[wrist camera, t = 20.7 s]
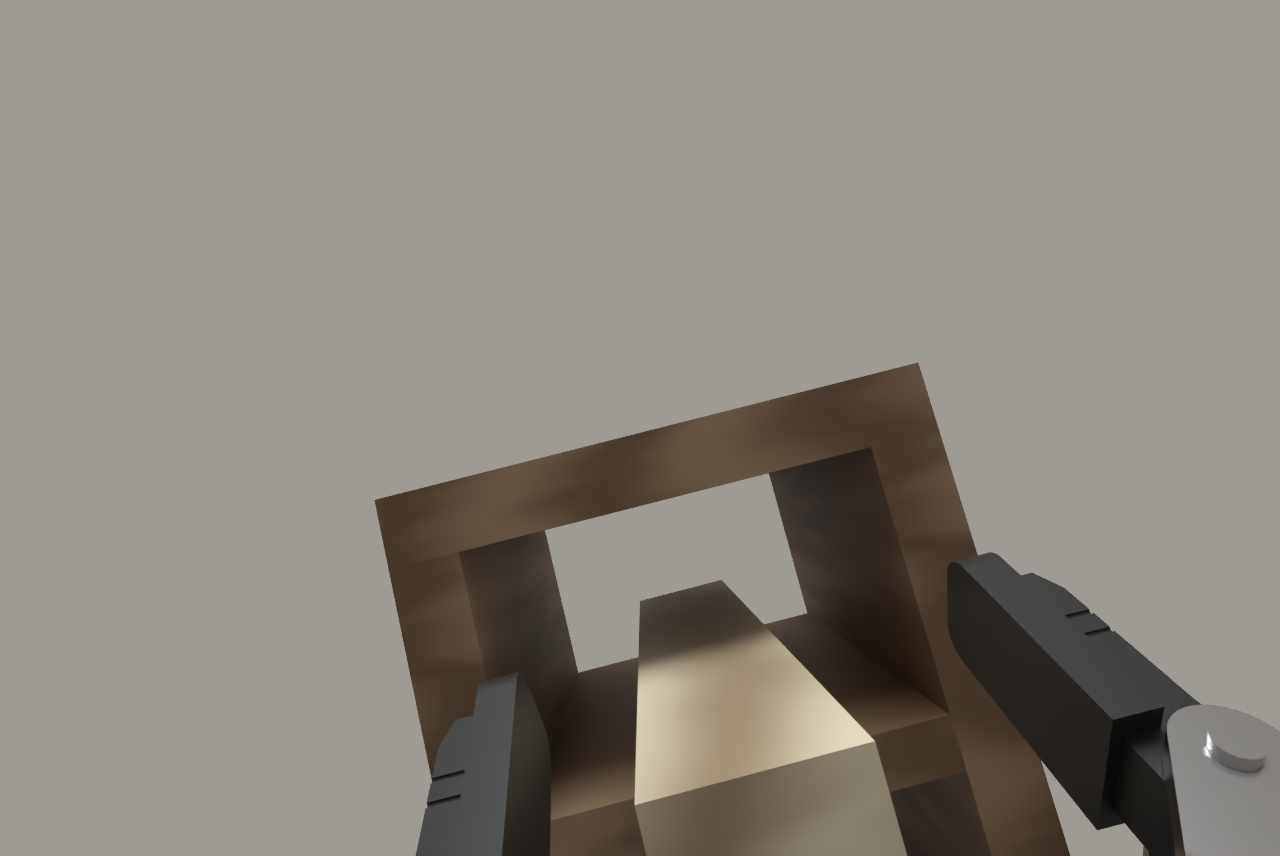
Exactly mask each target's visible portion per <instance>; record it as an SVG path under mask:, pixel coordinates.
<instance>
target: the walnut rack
mask: <svg viewBox="0 0 1280 856" xmlns="http://www.w3.org/2000/svg"><path fill="white" fill-rule="evenodd" d="M767 473H769V475H770V479H771V482H772V486H773V490H774V493H775V497H776V500H777V504H778V507H779V511H780V515H781V518H782V522H783V526H784V530H785V533H786V536H787V540H788V544H789V548H790V551H791V555H792V558H793V562H794V566H795V569H796V573H797V577H798V580H799V584H800V588H801V591H802V595H803V598H804V602H805V605H806V609H807V614H803V615H799V616H795V617H791V618H788V619H784V620H780V621H776V622H772V623H768V624H765V626H766V627H767V628H768V629H769V630H770V632H771V633H772V634H773V635H774V636H775V637H776V638H777V639H778V640H779V641H780V642H781V643H782V644H783V645H784V646H785V647H786V648H787V649H788V650H789V651H790V652H791V654H792V655H793V656H794V657H795V658H796V659H797V660H798V661H799V662H800V663H801V664H802V665H803V666H804V667H805V668H806V669H807V670H808V671H809V672H810V673H811V674H812V676H813V677H814V678H815V679H816V680H817V681H818V682H819V683H820V684H821V685H822V686H823V687H824V688H825V689H826V690H827V691H828V692H829V693H830V694H831V695H832V697H833V698H834V699H835V700H836V701H837V702H838V703H839V704H840V705H841V706H842V707H843V708H844V709H845V710H846V711H847V712H848V713H849V714H850V715H851V716H852V717H853V719H854V720H855V721H856V722H857V723H858V724H859V725H860V726H861V727H862V728H863V729H864V730H865V731H866V732H867V733H868V734H869V735H870V736H871V737H872V738H873V739H874V741H875V743H876V746H877V750H878V753H879V757H880V760H881V764H882V768H883V771H884V775H885V778H886V782H887V785H888V789H889V792H890V796H891V800H892V803H893V807H894V810H895V814H896V817H897V821H898V824H899V828H900V832H901V835H902V839H903V842H904V846H905V849H906V853H907V856H1070V854H1069V850H1068V847H1067V844H1066V841H1065V837H1064V834H1063V831H1062V828H1061V824H1060V821H1059V818H1058V815H1057V811H1056V808H1055V805H1054V802H1053V799H1052V795H1051V792H1050V789H1049V786H1048V782H1047V779H1046V776H1045V773H1044V769H1043V766H1042V763H1041V759H1040V758H1039V757H1038V755H1037V754H1036V753H1035V752H1034V750H1033V749H1032V748H1031V746H1030V745H1029V744H1028V743H1027V741H1026V740H1025V739H1024V738H1023V736H1022V735H1021V734H1020V733H1019V731H1018V730H1017V729H1016V728H1015V726H1014V725H1013V724H1012V723H1011V721H1010V720H1009V719H1008V718H1007V716H1006V715H1005V714H1004V713H1003V711H1002V710H1001V709H1000V708H999V706H998V705H997V704H996V703H995V701H994V700H993V699H992V698H991V696H990V695H989V694H988V693H987V691H986V690H985V689H984V688H983V686H982V685H981V684H980V683H979V681H978V680H977V679H976V678H975V676H974V675H973V674H972V672H971V671H970V670H969V669H968V667H967V666H966V665H965V664H964V662H963V661H962V660H961V658H960V657H959V655H958V654H957V652H956V650H955V648H954V646H953V643H952V641H951V638H950V634H949V630H948V603H947V569H948V565H949V564H950V563H951V562H954V561H958V560H962V559H966V558H970V557H974V556H978V555H977V552H976V549H975V545H974V542H973V539H972V536H971V532H970V530H969V526H968V523H967V520H966V516H965V513H964V510H963V506H962V503H961V500H960V497H959V494H958V490H957V487H956V484H955V481H954V477H953V474H952V471H951V468H950V465H949V461H948V458H947V455H946V451H945V448H944V445H943V442H942V438H941V435H940V432H939V429H938V426H937V422H936V419H935V416H934V413H933V409H932V406H931V403H930V399H929V396H928V393H927V390H926V387H925V384H924V380H923V377H922V374H921V370H920V367H919V364H918V363H915V364H911V365H907V366H903V367H900V368H895V369H891V370H888V371H883V372H879V373H876V374H872V375H867V376H864V377H860V378H856V379H852V380H848V381H844V382H840V383H836V384H832V385H828V386H824V387H820V388H816V389H813V390H808V391H804V392H800V393H796V394H792V395H789V396H784V397H781V398H776V399H773V400H769V401H765V402H761V403H757V404H753V405H749V406H745V407H741V408H737V409H733V410H729V411H725V412H721V413H717V414H713V415H709V416H705V417H701V418H697V419H693V420H689V421H686V422H682V423H678V424H674V425H670V426H666V427H662V428H658V429H654V430H650V431H646V432H642V433H638V434H634V435H630V436H626V437H622V438H618V439H615V440H610V441H606V442H602V443H598V444H594V445H591V446H587V447H583V448H579V449H575V450H571V451H567V452H563V453H559V454H555V455H551V456H547V457H543V458H540V459H535V460H532V461H527V462H523V463H519V464H515V465H511V466H508V467H503V468H500V469H496V470H492V471H488V472H484V473H480V474H476V475H472V476H468V477H464V478H460V479H456V480H452V481H448V482H444V483H440V484H437V485H432V486H428V487H424V488H421V489H417V490H413V491H409V492H405V493H401V494H397V495H393V496H389V497H385V498H381V499H377V500H375V504H376V509H377V514H378V519H379V524H380V529H381V533H382V539H383V543H384V548H385V553H386V558H387V563H388V568H389V572H390V578H391V583H392V588H393V592H394V597H395V602H396V607H397V612H398V616H399V622H400V627H401V631H402V636H403V641H404V646H405V651H406V656H407V661H408V666H409V670H410V676H411V680H412V685H413V689H414V695H415V700H416V705H417V710H418V714H419V719H420V724H421V729H422V734H423V739H424V744H425V749H426V753H427V759H428V763H429V768H430V773H431V778H432V776H433V771H434V766H435V761H436V756H437V751H438V748H439V746H440V744H441V743H442V741H443V739H444V738H445V736H446V734H447V733H448V731H449V729H450V728H451V726H452V724H453V723H454V721H455V720H457V719H461V718H465V717H469V716H473V714H474V708H475V702H476V695H477V690H478V686H479V684H480V682H482V681H486V680H490V679H494V678H498V677H502V676H506V675H510V674H514V673H518V672H522V673H523V674H524V676H525V678H526V680H527V683H528V686H529V688H530V691H531V693H532V696H533V698H534V701H535V703H536V706H537V709H538V711H539V714H540V716H541V719H542V721H543V724H544V727H545V729H546V733H547V736H548V741H549V746H550V753H551V823H550V856H646V852H645V848H644V843H643V839H642V835H641V831H640V827H639V822H638V818H637V814H636V810H635V805H634V802H635V767H636V732H637V696H638V661H639V657H638V658H634V659H631V660H626V661H622V662H618V663H614V664H611V665H607V666H603V667H599V668H596V669H592V670H588V671H584V672H580V673H578V670H577V666H576V662H575V657H574V653H573V649H572V644H571V640H570V636H569V632H568V627H567V624H566V619H565V615H564V610H563V606H562V602H561V597H560V593H559V589H558V585H557V580H556V576H555V572H554V567H553V563H552V559H551V555H550V550H549V546H548V542H547V537H546V533H545V530H547V529H551V528H555V527H559V526H563V525H567V524H571V523H575V522H579V521H583V520H586V519H591V518H594V517H598V516H602V515H606V514H610V513H614V512H617V511H622V510H626V509H630V508H634V507H638V506H641V505H645V504H649V503H653V502H657V501H661V500H665V499H669V498H673V497H677V496H681V495H684V494H689V493H692V492H696V491H700V490H704V489H708V488H712V487H716V486H720V485H724V484H727V483H731V482H735V481H739V480H743V479H747V478H751V477H755V476H759V475H763V474H767ZM432 783H433V780H432Z"/></svg>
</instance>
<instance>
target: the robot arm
mask: <svg viewBox="0 0 1280 856" xmlns="http://www.w3.org/2000/svg"><path fill="white" fill-rule="evenodd" d="M947 603H948V630H949V634H950V638H951V641H952V643H953V646H954V648H955V650H956V652H957V654H958V655H959V657H960V658H961V660H962V661H963V662H964V664H965V665H966V666H967V667H968V669H969V670H970V671H971V672H972V674H973V675H974V676H975V678H976V679H977V680H978V681H979V683H980V684H981V685H982V686H983V688H984V689H985V690H986V691H987V693H988V694H989V695H990V696H991V698H992V699H993V700H994V701H995V703H996V704H997V705H998V706H999V708H1000V709H1001V710H1002V711H1003V713H1004V714H1005V715H1006V716H1007V718H1008V719H1009V720H1010V721H1011V723H1012V724H1013V725H1014V726H1015V728H1016V729H1017V730H1018V731H1019V733H1020V734H1021V735H1022V736H1023V738H1024V739H1025V740H1026V741H1027V743H1028V744H1029V745H1030V746H1031V748H1032V749H1033V750H1034V752H1035V753H1036V754H1037V755H1038V757H1039V758H1040V759H1041V760H1042V761H1043V763H1044V764H1045V765H1046V767H1047V768H1048V769H1049V770H1050V772H1051V773H1052V774H1053V775H1054V777H1055V778H1056V779H1057V780H1058V782H1059V783H1060V784H1061V785H1062V786H1063V788H1064V789H1065V790H1066V792H1067V793H1068V794H1069V795H1070V797H1071V798H1072V799H1073V800H1074V802H1075V803H1076V804H1077V805H1078V807H1079V808H1080V809H1081V810H1082V812H1083V813H1084V814H1085V815H1086V817H1087V818H1088V819H1089V821H1090V822H1091V823H1092V824H1093V825H1094V827H1095V828H1096V829H1097V830H1100V829H1104V828H1108V827H1111V826H1115V825H1119V824H1123V823H1125V824H1126V825H1127V826H1128V828H1129V829H1130V830H1131V831H1132V832H1133V833H1134V834H1135V836H1136V837H1137V838H1138V839H1139V840H1140V842H1141V843H1142V844H1143V845H1144V847H1143V856H1280V731H1278V730H1277V729H1275V728H1274V727H1272V726H1271V725H1269V724H1267V723H1265V722H1263V721H1262V720H1260V719H1257V718H1255V717H1253V716H1251V715H1249V714H1246V713H1243V712H1240V711H1237V710H1234V709H1230V708H1226V707H1221V706H1214V705H1201V704H1200V703H1199V702H1197V701H1196V700H1195V699H1194V698H1192V697H1191V696H1190V695H1189V694H1188V693H1186V692H1185V691H1184V690H1183V689H1182V688H1181V687H1179V686H1178V685H1177V684H1176V683H1175V682H1173V681H1172V680H1171V679H1170V678H1169V677H1168V676H1167V675H1165V674H1164V673H1163V672H1162V671H1161V670H1160V669H1158V668H1157V667H1156V666H1155V665H1154V664H1153V663H1151V662H1150V661H1149V660H1148V659H1147V658H1145V657H1144V656H1143V655H1142V654H1141V653H1140V652H1139V651H1137V650H1136V649H1135V648H1134V647H1133V646H1132V645H1130V644H1129V643H1128V642H1127V641H1125V640H1124V639H1123V638H1122V637H1121V636H1120V635H1118V634H1117V633H1116V632H1115V631H1114V632H1112V631H1111V630H1110V627H1109V626H1108V625H1107V624H1106V623H1104V622H1103V621H1102V620H1101V619H1100V618H1099V617H1098V616H1096V615H1095V614H1094V613H1093V614H1091V613H1090V611H1089V609H1088V608H1087V607H1086V606H1085V605H1084V604H1082V603H1081V602H1080V601H1079V600H1078V599H1077V598H1075V597H1074V596H1073V595H1072V594H1071V593H1069V592H1068V591H1067V590H1066V589H1065V588H1063V587H1061V586H1059V585H1057V584H1055V583H1053V582H1051V581H1048V580H1046V579H1044V578H1042V577H1040V576H1038V575H1036V574H1034V573H1029V574H1026V575H1020V574H1019V573H1017V572H1016V571H1015V570H1014V569H1013V568H1012V567H1011V566H1010V565H1009V564H1007V563H1006V562H1005V561H1004V560H1003V559H1002V558H1001V557H1000V556H998V555H997V554H995V553H986V554H982V555H978V556H974V557H970V558H966V559H962V560H958V561H954V562H951V563H950V564H949V565H948V569H947ZM432 780H433V783H432V784H431V785H430V790H429V795H428V800H427V805H428V807H427V809H425V814H424V819H423V824H422V829H421V833H420V838H419V843H418V848H417V852H416V856H550V823H551V753H550V746H549V741H548V736H547V733H546V729H545V727H544V724H543V721H542V719H541V716H540V714H539V711H538V709H537V706H536V703H535V701H534V698H533V696H532V693H531V691H530V688H529V686H528V683H527V680H526V678H525V676H524V674H523V673H522V672H518V673H514V674H510V675H506V676H502V677H498V678H494V679H490V680H486V681H482V682H480V684H479V686H478V690H477V695H476V702H475V708H474V714H473V716H469V717H465V718H461V719H457V720H455V721H454V723H453V724H452V726H451V728H450V729H449V731H448V733H447V734H446V736H445V738H444V739H443V741H442V743H441V744H440V746H439V748H438V751H437V756H436V761H435V766H434V771H433V776H432Z"/></svg>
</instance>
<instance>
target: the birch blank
mask: <svg viewBox="0 0 1280 856" xmlns="http://www.w3.org/2000/svg"><path fill="white" fill-rule="evenodd" d="M639 628H640V629H639V661H638V696H637V732H636V767H635V802H634V805H635V810H636V814H637V818H638V822H639V827H640V831H641V835H642V839H643V843H644V848H645V852H646V856H907V853H906V849H905V846H904V842H903V839H902V835H901V832H900V828H899V824H898V821H897V817H896V814H895V810H894V807H893V803H892V800H891V796H890V792H889V789H888V785H887V782H886V778H885V775H884V771H883V768H882V764H881V760H880V757H879V753H878V750H877V746H876V743H875V741H874V739H873V738H872V737H871V736H870V735H869V734H868V733H867V732H866V731H865V730H864V729H863V728H862V727H861V726H860V725H859V724H858V723H857V722H856V721H855V720H854V719H853V717H852V716H851V715H850V714H849V713H848V712H847V711H846V710H845V709H844V708H843V707H842V706H841V705H840V704H839V703H838V702H837V701H836V700H835V699H834V698H833V697H832V695H831V694H830V693H829V692H828V691H827V690H826V689H825V688H824V687H823V686H822V685H821V684H820V683H819V682H818V681H817V680H816V679H815V678H814V677H813V676H812V674H811V673H810V672H809V671H808V670H807V669H806V668H805V667H804V666H803V665H802V664H801V663H800V662H799V661H798V660H797V659H796V658H795V657H794V656H793V655H792V654H791V652H790V651H789V650H788V649H787V648H786V647H785V646H784V645H783V644H782V643H781V642H780V641H779V640H778V639H777V638H776V637H775V636H774V635H773V634H772V633H771V632H770V630H769V629H768V628H767V627H766V626H765V625H764V624H763V623H762V622H761V621H760V620H759V619H758V618H757V617H756V616H755V615H754V614H753V613H752V612H751V611H750V610H749V608H748V607H746V605H745V604H744V603H743V602H742V601H741V600H740V599H739V598H738V597H737V596H736V595H735V594H734V593H733V592H732V591H731V590H730V589H729V588H728V587H727V586H726V584H725V583H724V582H723V581H722V580H720V581H716V582H712V583H708V584H704V585H701V586H697V587H693V588H689V589H685V590H681V591H677V592H674V593H670V594H666V595H662V596H658V597H654V598H650V599H646V600H642V601H640V626H639Z"/></svg>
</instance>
